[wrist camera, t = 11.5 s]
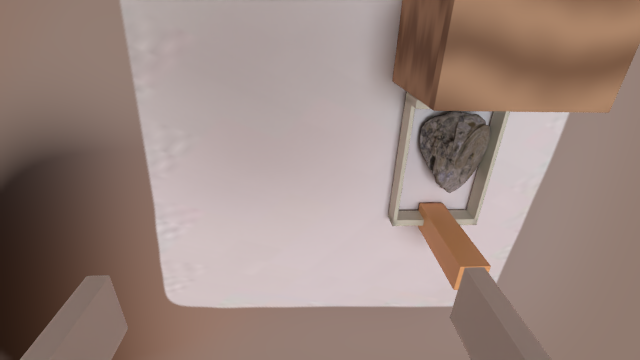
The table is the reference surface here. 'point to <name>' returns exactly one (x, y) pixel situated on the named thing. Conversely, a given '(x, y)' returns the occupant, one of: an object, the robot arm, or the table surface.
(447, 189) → the fossilized seashell
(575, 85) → the tunnel
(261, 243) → the table surface
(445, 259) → the sled
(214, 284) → the table surface
